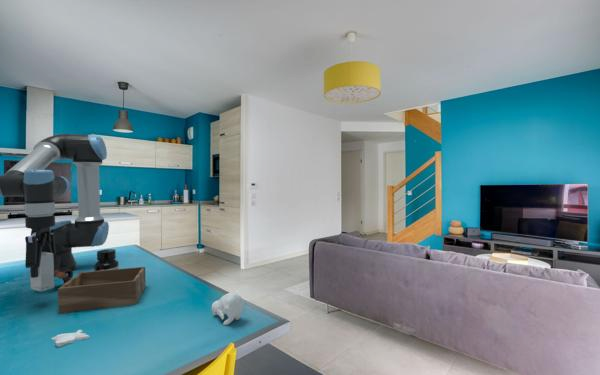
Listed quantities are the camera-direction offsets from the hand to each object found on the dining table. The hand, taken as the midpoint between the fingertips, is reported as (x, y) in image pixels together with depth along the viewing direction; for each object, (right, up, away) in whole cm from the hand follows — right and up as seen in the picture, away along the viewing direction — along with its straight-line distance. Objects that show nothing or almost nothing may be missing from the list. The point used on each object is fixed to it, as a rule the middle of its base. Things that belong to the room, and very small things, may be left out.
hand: (42, 282), depth 100 cm
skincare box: (0, -2, 0) cm, 2 cm away
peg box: (+18, -8, +6) cm, 21 cm away
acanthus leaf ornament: (+26, -9, -21) cm, 35 cm away
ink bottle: (+3, -8, +28) cm, 29 cm away
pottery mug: (-9, -8, +17) cm, 20 cm away
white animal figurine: (+65, -8, -10) cm, 66 cm away
